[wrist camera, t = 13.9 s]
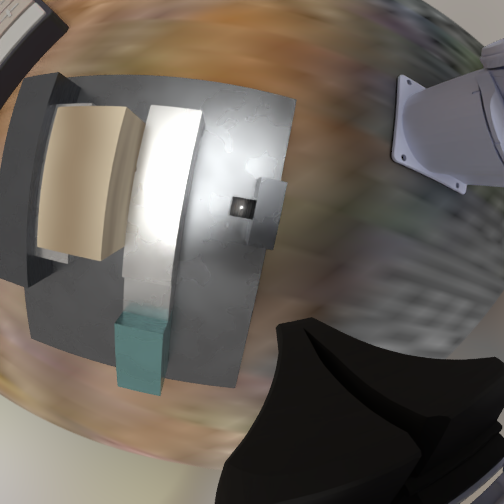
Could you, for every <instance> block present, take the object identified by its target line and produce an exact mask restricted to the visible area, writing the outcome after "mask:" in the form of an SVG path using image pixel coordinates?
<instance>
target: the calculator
mask: <svg viewBox="0 0 504 504" xmlns="http://www.w3.org/2000/svg"><path fill="white" fill-rule="evenodd" d="M68 29H69V27H68V26H67V25H66V24H65V23H64V22H63V21H62V20H61V19H60V17H59V16H58V15H57V14H56V13H55V12H54V11H53V10H52V9H50V8H49V7H48V6H47V5H46V4H45V3H44V2H43V1H42V0H0V109H1V108H2V107H3V105H4V104H5V102H6V101H7V99H8V98H9V96H10V95H11V94H12V92H13V91H14V90H15V88H16V87H17V86H18V84H19V83H20V82H21V81H22V79H23V78H24V77H25V76H26V74H27V73H28V72H29V71H30V70H31V68H32V67H33V66H34V65H35V64H36V63H37V62H38V60H39V59H40V58H41V57H42V56H43V55H44V54H45V53H46V52H47V51H48V50H49V49H50V48H51V47H52V46H53V45H54V44H55V43H56V42H57V41H58V40H59V39H60V38H61V37H62V36H63V35H64V34H65V33H66V32H67V31H68Z"/></svg>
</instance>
